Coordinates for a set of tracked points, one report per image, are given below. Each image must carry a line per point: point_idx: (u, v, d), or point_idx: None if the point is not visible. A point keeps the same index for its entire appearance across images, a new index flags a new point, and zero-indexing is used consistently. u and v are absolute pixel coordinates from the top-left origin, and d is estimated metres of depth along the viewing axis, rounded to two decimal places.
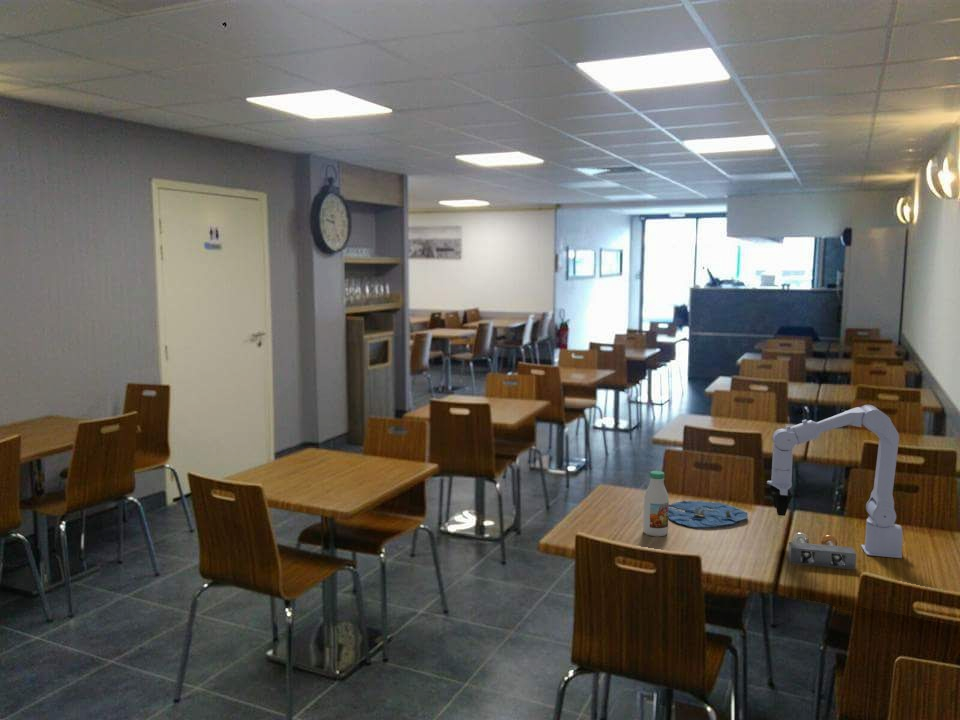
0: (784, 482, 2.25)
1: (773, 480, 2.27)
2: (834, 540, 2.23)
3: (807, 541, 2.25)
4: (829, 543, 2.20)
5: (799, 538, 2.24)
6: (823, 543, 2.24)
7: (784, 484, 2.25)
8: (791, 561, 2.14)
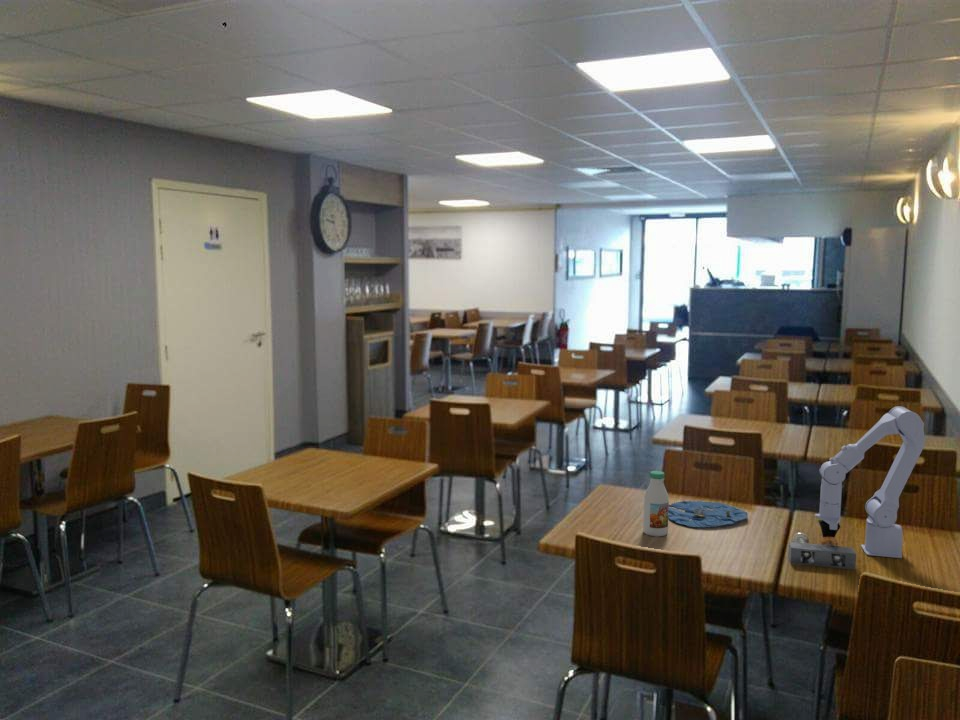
0: (833, 516, 2.21)
1: (821, 514, 2.24)
2: (834, 541, 2.22)
3: (807, 541, 2.25)
4: (829, 544, 2.20)
5: (799, 538, 2.24)
6: (823, 544, 2.23)
7: (833, 518, 2.21)
8: (791, 561, 2.14)
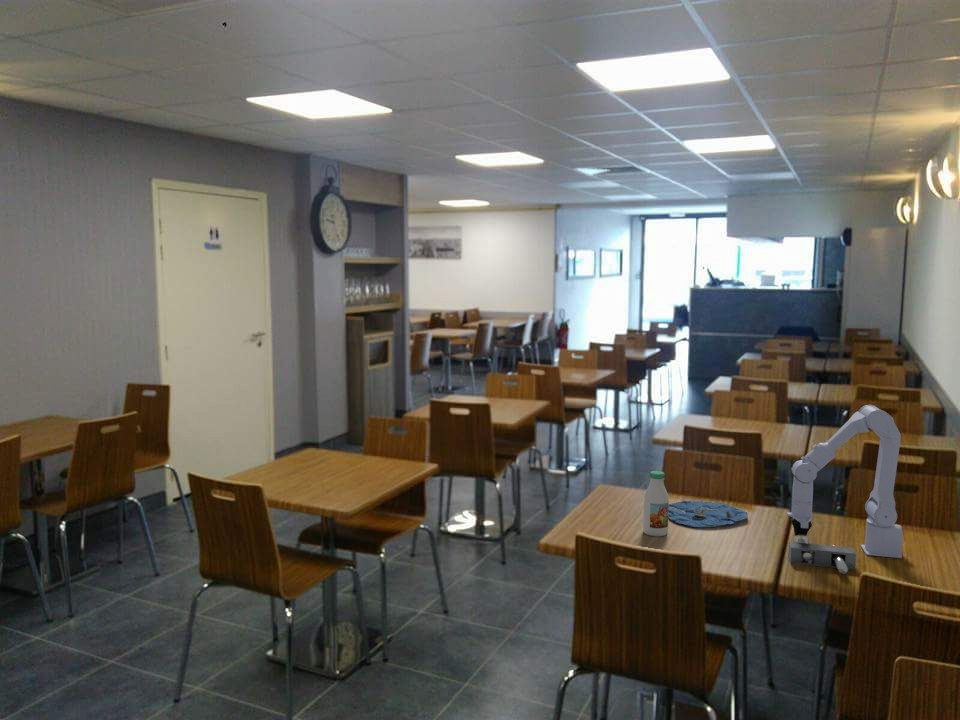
0: (805, 515, 2.23)
1: (793, 512, 2.25)
2: None
3: (808, 543, 2.23)
4: None
5: (799, 540, 2.23)
6: None
7: (804, 516, 2.23)
8: (791, 561, 2.14)
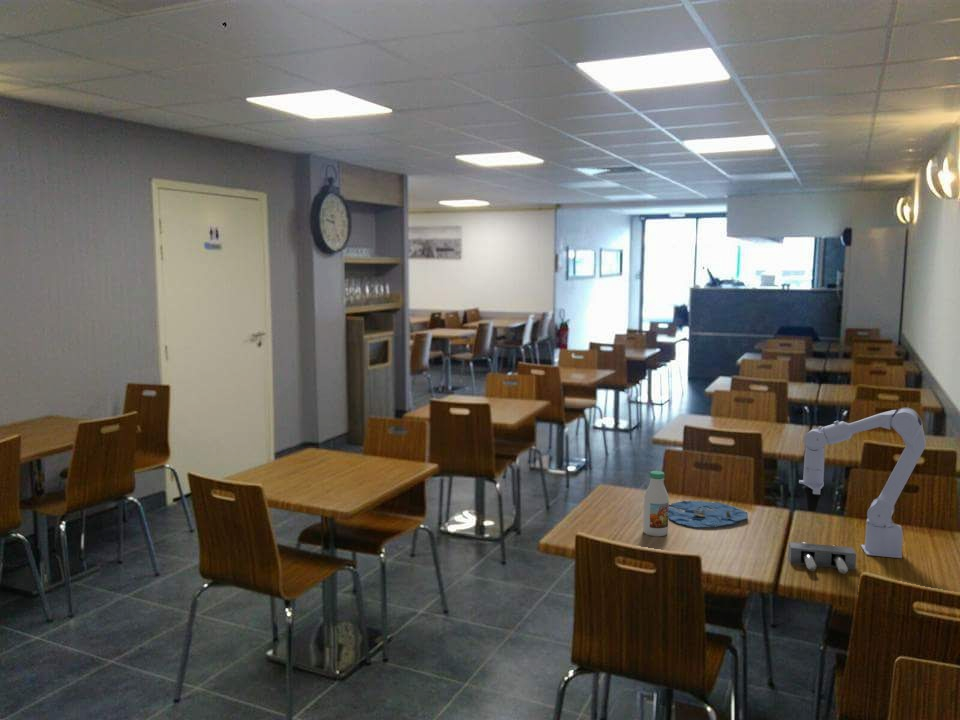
0: (817, 482, 2.28)
1: (805, 479, 2.30)
2: None
3: None
4: None
5: None
6: None
7: (816, 483, 2.28)
8: (791, 561, 2.14)
